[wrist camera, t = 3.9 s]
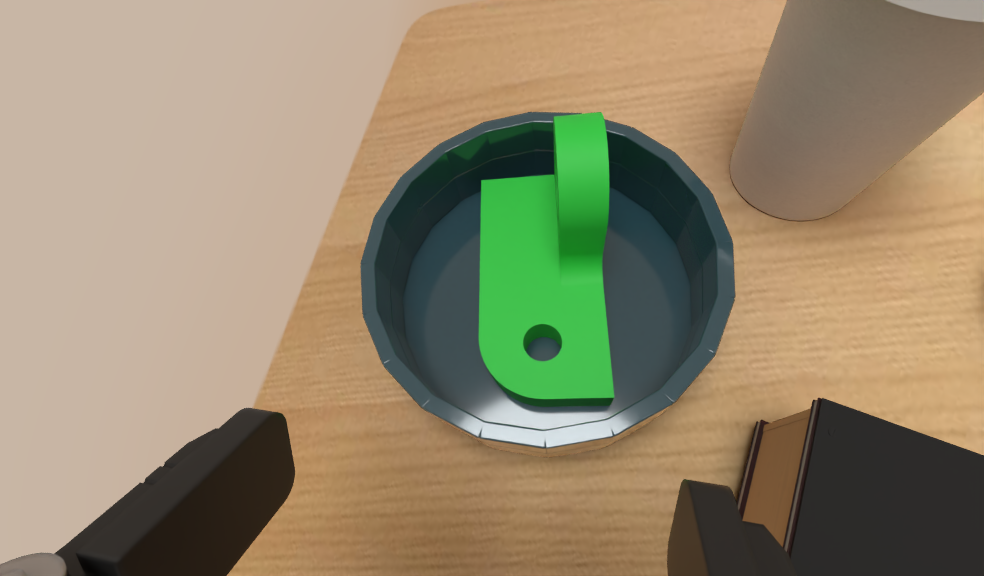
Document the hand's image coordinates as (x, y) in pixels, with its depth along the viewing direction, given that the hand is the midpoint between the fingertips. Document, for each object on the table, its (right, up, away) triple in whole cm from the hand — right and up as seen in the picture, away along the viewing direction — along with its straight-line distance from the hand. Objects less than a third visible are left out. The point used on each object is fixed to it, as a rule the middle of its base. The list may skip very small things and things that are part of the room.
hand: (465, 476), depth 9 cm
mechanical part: (+3, +4, +16) cm, 17 cm away
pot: (+3, +3, +16) cm, 17 cm away
